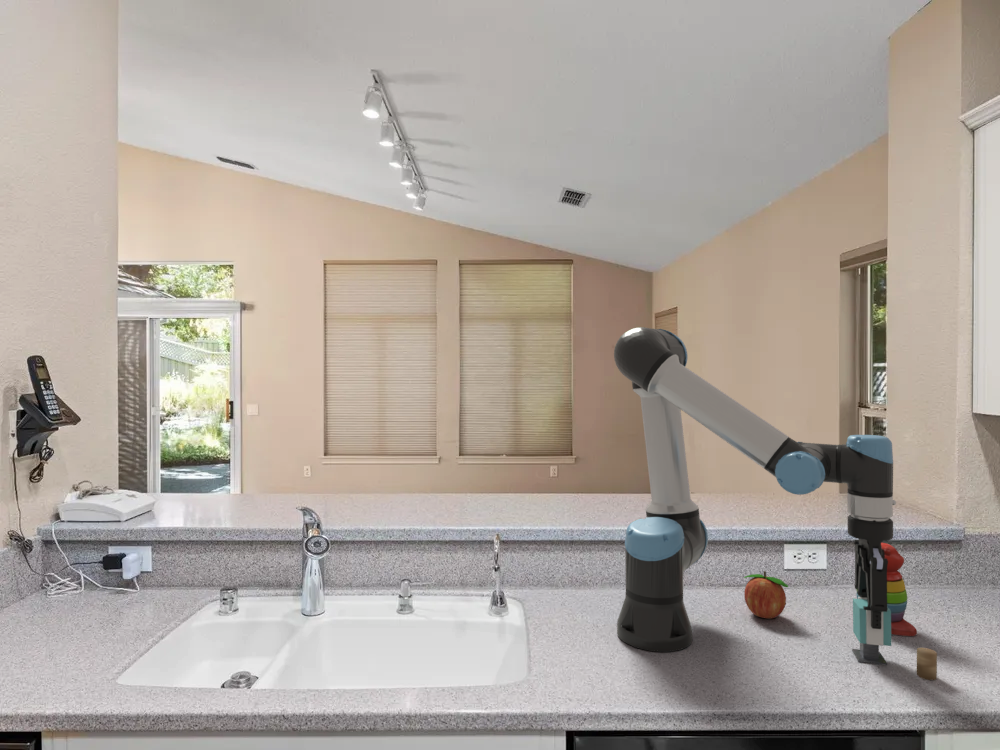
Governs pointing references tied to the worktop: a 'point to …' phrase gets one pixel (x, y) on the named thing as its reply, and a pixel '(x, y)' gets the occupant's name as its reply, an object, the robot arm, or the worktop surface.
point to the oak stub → (927, 663)
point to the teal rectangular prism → (860, 622)
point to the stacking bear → (896, 593)
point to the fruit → (765, 595)
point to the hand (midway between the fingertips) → (870, 637)
